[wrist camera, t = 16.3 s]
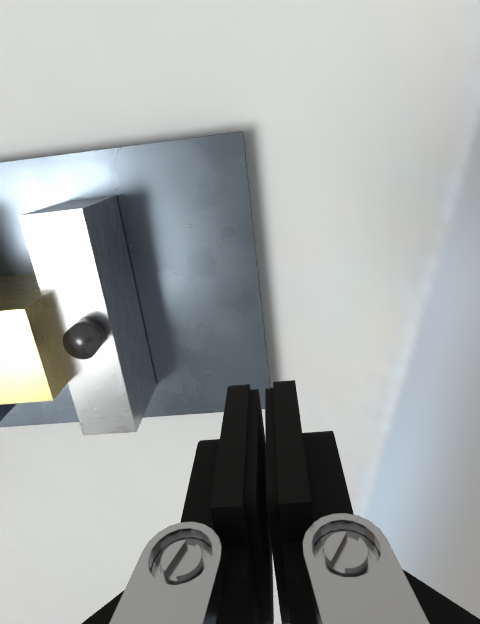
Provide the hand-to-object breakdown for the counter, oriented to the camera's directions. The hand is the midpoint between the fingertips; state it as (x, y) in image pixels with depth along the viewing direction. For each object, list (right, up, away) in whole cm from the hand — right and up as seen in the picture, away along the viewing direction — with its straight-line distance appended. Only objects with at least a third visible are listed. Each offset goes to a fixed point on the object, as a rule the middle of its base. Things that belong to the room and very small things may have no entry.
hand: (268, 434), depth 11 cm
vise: (-8, +4, +12) cm, 15 cm away
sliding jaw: (-7, +4, +11) cm, 14 cm away
